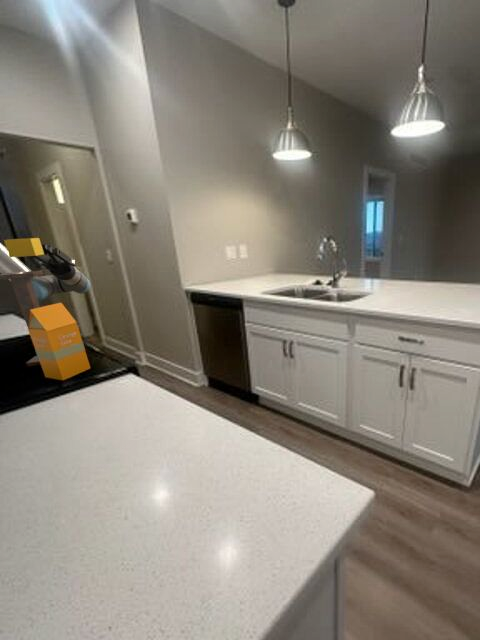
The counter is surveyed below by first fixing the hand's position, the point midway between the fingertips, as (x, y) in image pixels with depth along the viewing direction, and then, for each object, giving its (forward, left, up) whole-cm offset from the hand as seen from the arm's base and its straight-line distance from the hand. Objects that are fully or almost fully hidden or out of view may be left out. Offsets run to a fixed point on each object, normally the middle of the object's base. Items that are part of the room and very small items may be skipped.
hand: (29, 241), depth 110 cm
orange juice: (+23, -19, -36) cm, 47 cm away
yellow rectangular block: (0, 0, -4) cm, 4 cm away
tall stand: (+7, -12, -36) cm, 39 cm away
